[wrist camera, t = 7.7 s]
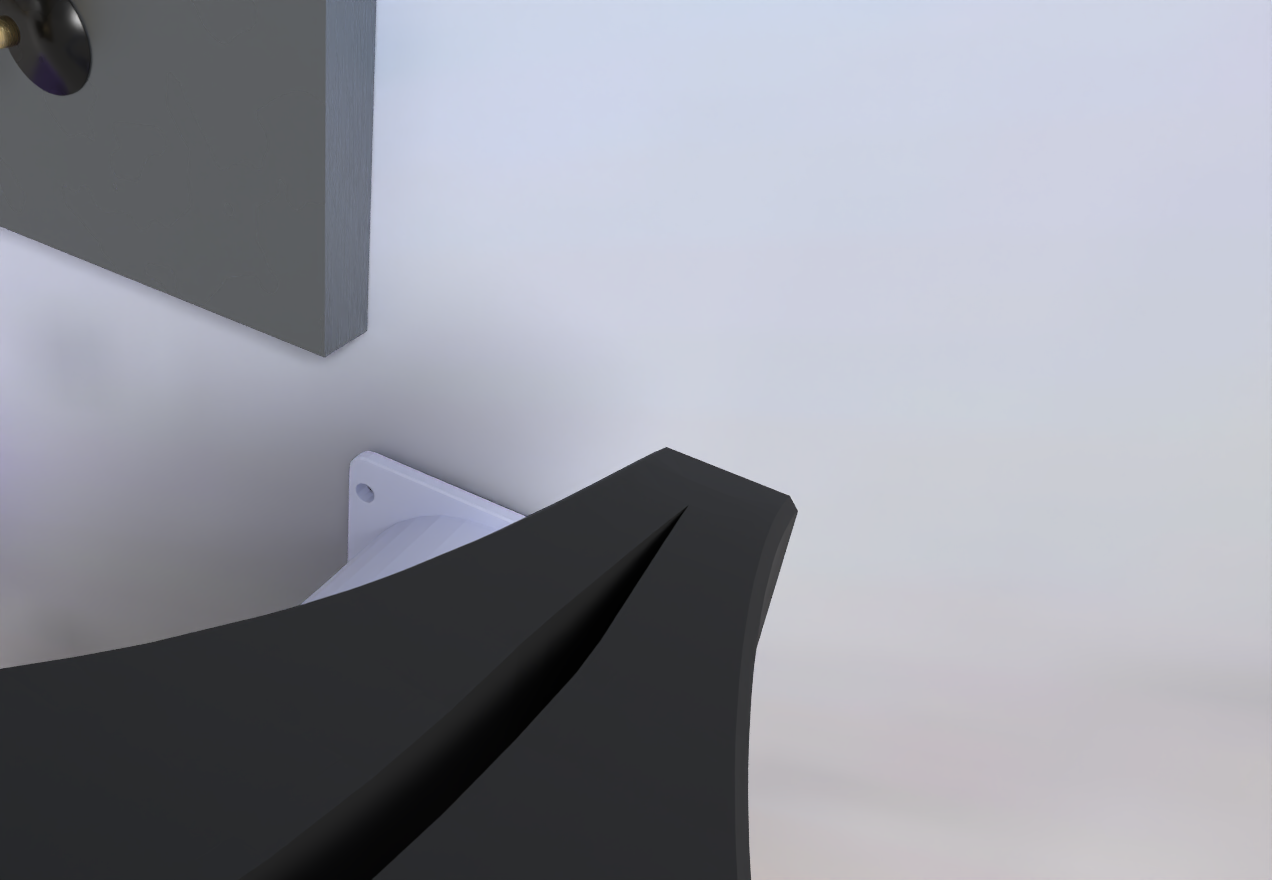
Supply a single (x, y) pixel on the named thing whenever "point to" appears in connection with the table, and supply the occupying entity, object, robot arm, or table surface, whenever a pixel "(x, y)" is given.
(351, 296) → the bolt plate
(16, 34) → the sliding block
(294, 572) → the table surface
